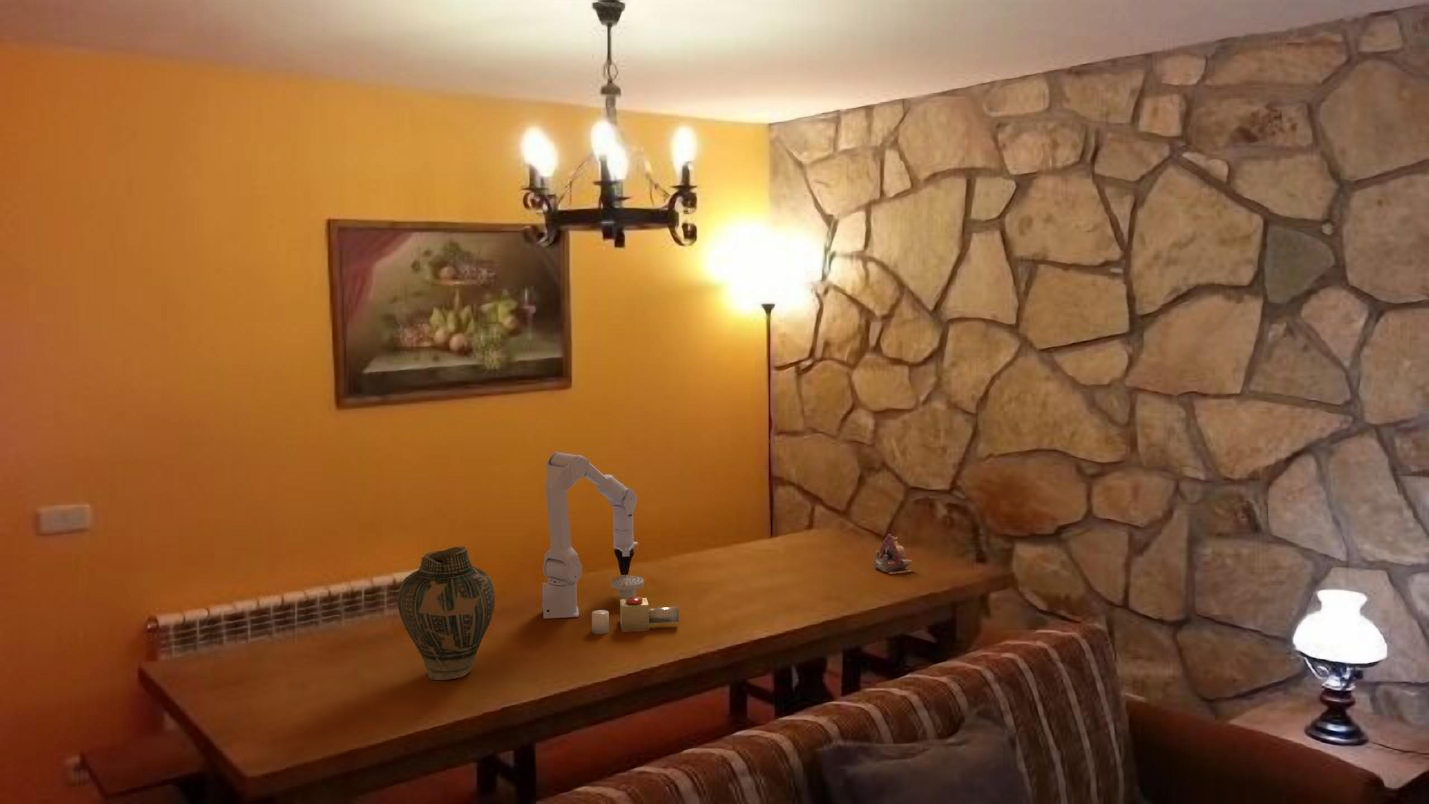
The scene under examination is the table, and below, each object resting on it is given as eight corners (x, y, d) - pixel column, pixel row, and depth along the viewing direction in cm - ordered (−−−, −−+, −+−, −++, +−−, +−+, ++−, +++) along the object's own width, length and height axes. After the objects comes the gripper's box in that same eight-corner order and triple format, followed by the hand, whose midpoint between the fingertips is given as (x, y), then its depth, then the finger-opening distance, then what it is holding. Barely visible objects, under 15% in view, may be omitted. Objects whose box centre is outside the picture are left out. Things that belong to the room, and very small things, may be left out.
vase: (516, 672, 271) (513, 548, 266) (437, 699, 254) (432, 568, 250) (460, 650, 285) (456, 532, 281) (381, 675, 269) (376, 550, 265)
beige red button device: (622, 632, 298) (621, 603, 297) (618, 618, 309) (618, 590, 308) (679, 629, 300) (679, 600, 299) (674, 615, 311) (673, 587, 310)
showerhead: (606, 582, 318) (613, 572, 327) (607, 607, 319) (614, 596, 328) (640, 583, 317) (646, 572, 326) (640, 608, 318) (646, 597, 327)
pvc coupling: (592, 634, 297) (592, 615, 296) (591, 629, 301) (591, 610, 300) (609, 633, 297) (609, 614, 297) (608, 628, 302) (608, 609, 301)
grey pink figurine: (861, 559, 358) (881, 526, 359) (884, 576, 362) (905, 544, 364) (880, 568, 348) (901, 535, 349) (904, 586, 352) (925, 553, 353)
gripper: (639, 534, 323) (640, 580, 325) (635, 521, 337) (635, 566, 339) (614, 535, 322) (615, 582, 324) (611, 522, 336) (611, 567, 338)
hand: (624, 574), depth 332 cm, fingers closed
